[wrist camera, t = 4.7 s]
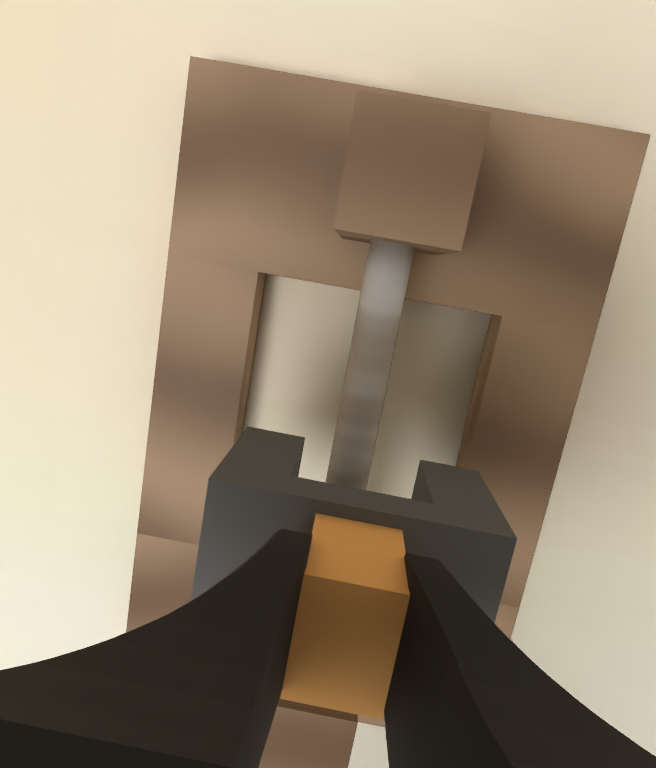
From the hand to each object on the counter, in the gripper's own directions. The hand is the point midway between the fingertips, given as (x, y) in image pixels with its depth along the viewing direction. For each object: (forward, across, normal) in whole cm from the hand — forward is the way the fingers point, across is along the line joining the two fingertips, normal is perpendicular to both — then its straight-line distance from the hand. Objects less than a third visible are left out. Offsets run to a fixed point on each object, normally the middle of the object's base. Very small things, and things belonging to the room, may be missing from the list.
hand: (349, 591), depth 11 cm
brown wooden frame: (+10, 0, 0) cm, 10 cm away
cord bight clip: (+5, 0, 0) cm, 5 cm away
